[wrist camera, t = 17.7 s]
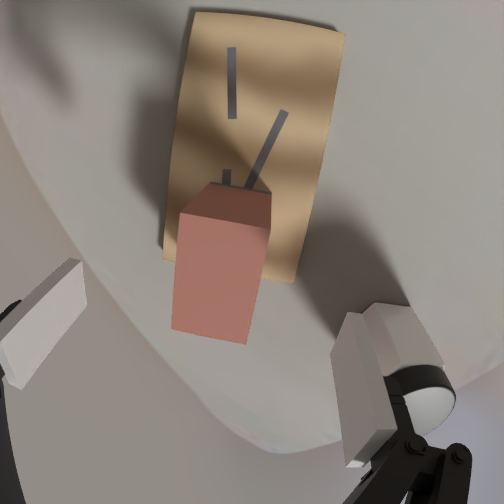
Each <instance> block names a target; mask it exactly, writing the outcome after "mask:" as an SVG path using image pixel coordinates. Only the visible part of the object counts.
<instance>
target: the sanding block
mask: <svg viewBox="0 0 504 504" xmlns="http://www.w3.org/2000/svg"><path fill="white" fill-rule="evenodd" d="M271 207H272V193H271V192H266V191H260V190H255V189H250V188H244V187H239V186H233V185H227V184H222V183H216V182H210V183H209V184H208V185H207V186H206V187H205V188H204V189H203V190H202V191H201V192H200V193H199V194H198V195H197V196H196V197H195V198H194V199H193V200H192V201H191V202H190V203H189V204H188V205H187V206H186V207H185V208H184V209H183V210H182V211H181V212H180V218H179V228H178V238H177V250H176V262H175V275H174V290H173V307H172V328H171V329H173V330H177V331H182V332H186V333H191V334H195V335H200V336H205V337H210V338H215V339H220V340H225V341H230V342H236V343H241V344H246V342H247V338H248V333H249V329H250V324H251V320H252V315H253V311H254V306H255V302H256V297H257V292H258V288H259V283H260V279H261V274H262V269H263V265H264V260H265V255H266V251H267V246H268V241H269V237H270V232H271Z"/></svg>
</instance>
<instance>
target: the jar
mask: <svg viewBox="0 0 504 504" xmlns="http://www.w3.org/2000/svg"><path fill="white" fill-rule="evenodd" d="M362 315H363V318H364V321H365V324H366V326H367V329H368V332H369V335H370V338H371V341H372V344H373V347H374V351H375V354H376V357H377V360H378V363H379V366H380V369H381V373H382V376H391V377H394V378H395V380H396V381H397V382H398V383H399V385H400V386H401V389H402V392H403V397H404V398H405V402H406V405H407V408H408V411H409V414H410V417H411V421H412V424H413V427H414V431H415V433H416V434H418V435H420V436H424V435H426V434H428V433H429V432H431V431H432V430H434V429H435V428H437V427H438V426H439V425H440V424H441V423H442V422H443V421H444V420H445V419H446V418H447V417H448V416H449V414H450V413H451V412H452V410H453V408H454V405H455V401H456V395H455V392H454V390H453V388H452V386H451V384H450V382H449V380H448V378H447V376H446V374H445V363H444V361H443V360H442V358H441V356H440V354H439V353H438V351H437V349H436V347H435V346H434V344H433V342H432V340H431V339H430V337H429V335H428V334H427V332H426V330H425V328H424V327H423V325H422V324H421V322H420V320H419V319H418V317H417V315H416V314H415V312H414V310H413V309H412V308H411V307H407V306H399V305H392V304H384V303H377V302H374V303H373V304H372V305H371V306H370V307H369V308H367V309H366V310H365V311H364V312H363V313H362Z"/></svg>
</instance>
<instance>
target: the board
mask: <svg viewBox="0 0 504 504" xmlns="http://www.w3.org/2000/svg"><path fill="white" fill-rule="evenodd" d="M344 41H345V34H344V33H340V32H336V31H332V30H328V29H324V28H320V27H315V26H310V25H306V24H301V23H295V22H290V21H284V20H278V19H271V18H264V17H257V16H248V15H238V14H227V13H211V12H195V17H194V21H193V26H192V30H191V35H190V40H189V45H188V50H187V55H186V61H185V66H184V72H183V77H182V83H181V89H180V95H179V102H178V108H177V115H176V122H175V129H174V137H173V145H172V153H171V162H170V171H169V181H168V191H167V203H166V215H165V229H164V245H163V260H166V261H172V262H176V250H177V238H178V228H179V218H180V212H181V211H182V210H183V209H184V208H185V207H186V206H187V205H188V204H189V203H190V202H191V201H192V200H193V199H194V198H195V197H196V196H197V195H198V194H199V193H200V192H201V191H202V190H203V189H204V188H205V187H206V186H207V185H208V184H209V183H210V182H216V183H222V184H227V185H233V186H239V187H244V188H250V189H255V190H260V191H266V192H271V193H272V207H271V232H270V237H269V241H268V246H267V251H266V255H265V260H264V265H263V269H262V274H261V278H264V279H269V280H275V281H281V282H287V283H292V284H293V283H294V280H295V276H296V272H297V268H298V264H299V260H300V256H301V252H302V248H303V243H304V239H305V235H306V231H307V227H308V223H309V218H310V214H311V210H312V205H313V201H314V196H315V192H316V187H317V183H318V178H319V174H320V169H321V164H322V160H323V155H324V150H325V145H326V140H327V135H328V130H329V125H330V120H331V115H332V110H333V104H334V99H335V94H336V88H337V82H338V77H339V71H340V65H341V59H342V53H343V47H344Z"/></svg>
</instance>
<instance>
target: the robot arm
mask: <svg viewBox="0 0 504 504" xmlns="http://www.w3.org/2000/svg"><path fill="white" fill-rule="evenodd" d="M86 306H87V301H86V294H85V286H84V277H83V268H82V261H81V260H77V259H73V258H69V259H68V260H67V261H66V262H65V263H63V264H62V265H61V266H60V267H59V268H58V269H56V270H55V271H54V272H53V273H52V274H51V275H50V276H48V277H47V278H46V279H45V280H44V281H43V282H42V283H41V284H40V285H39V286H37V287H36V288H35V289H34V290H33V291H32V292H31V293H30V294H29V295H28V296H27V297H26V298H25V299H24V300H18V301H16V302H14V303H12V304H11V305H9V306H8V307H7V308H6V309H5V310H4V312H2V313H1V314H0V504H26V502H25V499H24V496H23V492H22V489H21V485H20V481H19V478H18V474H17V469H16V465H15V461H14V456H13V451H12V446H11V441H10V435H9V429H8V422H7V415H6V406H5V398H4V386H3V382H2V377H3V376H4V375H5V376H6V378H7V380H8V382H9V384H11V385H13V386H15V387H17V388H19V389H20V390H22V389H23V388H24V386H25V385H26V384H27V382H28V381H29V379H30V378H31V377H32V375H33V374H34V372H35V371H36V370H37V368H38V367H39V366H40V364H41V363H42V362H43V360H44V359H45V358H46V356H47V355H48V353H49V352H50V351H51V350H52V348H53V347H54V346H55V345H56V343H57V342H58V341H59V339H60V338H61V337H62V336H63V334H64V333H65V332H66V331H67V329H68V328H69V327H70V325H71V324H72V323H73V322H74V321H75V319H76V318H77V317H78V316H79V314H80V313H81V312H82V311H83V310H84V308H85V307H86ZM330 357H331V363H332V370H333V376H334V382H335V389H336V396H337V403H338V410H339V417H340V425H341V433H342V441H343V449H344V457H345V467H364V466H365V465H366V464H367V463H368V462H369V461H371V467H372V468H371V469H370V471H368V472H367V473H366V474H365V475H364V476H363V477H362V478H361V482H360V483H359V484H358V486H357V487H356V488H355V489H354V491H353V492H352V493H351V494H350V495H349V497H348V498H347V499H346V500H345V502H343V504H400V503H401V502H402V500H403V498H404V497H405V495H406V493H407V492H408V494H407V497H406V501H405V504H467V500H468V494H469V486H470V477H471V468H472V454H471V452H470V451H469V449H468V448H467V447H466V446H465V445H462V444H461V443H454V444H451V445H450V446H449V447H448V448H447V449H446V450H445V449H440V448H435V447H431V446H428V444H427V442H426V440H425V439H424V438H423V437H422V436H420V435H418V434H416V433H415V431H414V427H413V424H412V421H411V417H410V414H409V411H408V408H407V405H406V402H405V398H404V397H403V392H402V389H401V386H400V385H399V383H398V382H397V381H396V380H395V378H394V377H391V376H382V373H381V369H380V366H379V363H378V360H377V357H376V354H375V351H374V347H373V344H372V341H371V338H370V335H369V332H368V329H367V326H366V324H365V321H364V318H363V315H362V314H360V313H353V312H347V314H346V317H345V319H344V322H343V324H342V327H341V329H340V332H339V334H338V337H337V339H336V341H335V344H334V346H333V349H332V351H331V353H330Z"/></svg>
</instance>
